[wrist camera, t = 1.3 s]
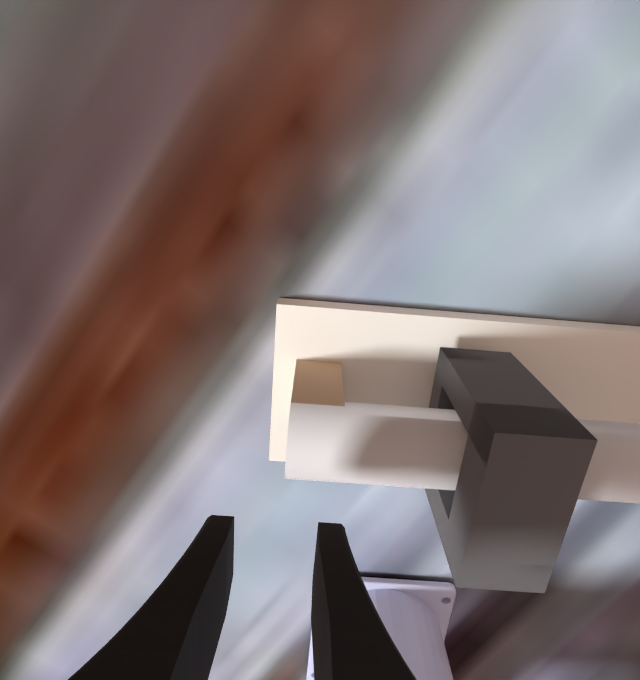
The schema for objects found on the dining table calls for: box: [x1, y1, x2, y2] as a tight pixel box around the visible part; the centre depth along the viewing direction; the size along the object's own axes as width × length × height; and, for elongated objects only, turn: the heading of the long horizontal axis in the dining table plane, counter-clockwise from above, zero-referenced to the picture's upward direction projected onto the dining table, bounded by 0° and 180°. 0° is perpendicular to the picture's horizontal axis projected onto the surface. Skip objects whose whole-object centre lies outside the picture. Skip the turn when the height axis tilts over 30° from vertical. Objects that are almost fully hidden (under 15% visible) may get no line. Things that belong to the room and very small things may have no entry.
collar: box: [425, 347, 598, 593], centre depth 17 cm, size 6×3×7 cm, turn 175°
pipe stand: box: [269, 298, 640, 503], centre depth 19 cm, size 8×29×6 cm, turn 85°
